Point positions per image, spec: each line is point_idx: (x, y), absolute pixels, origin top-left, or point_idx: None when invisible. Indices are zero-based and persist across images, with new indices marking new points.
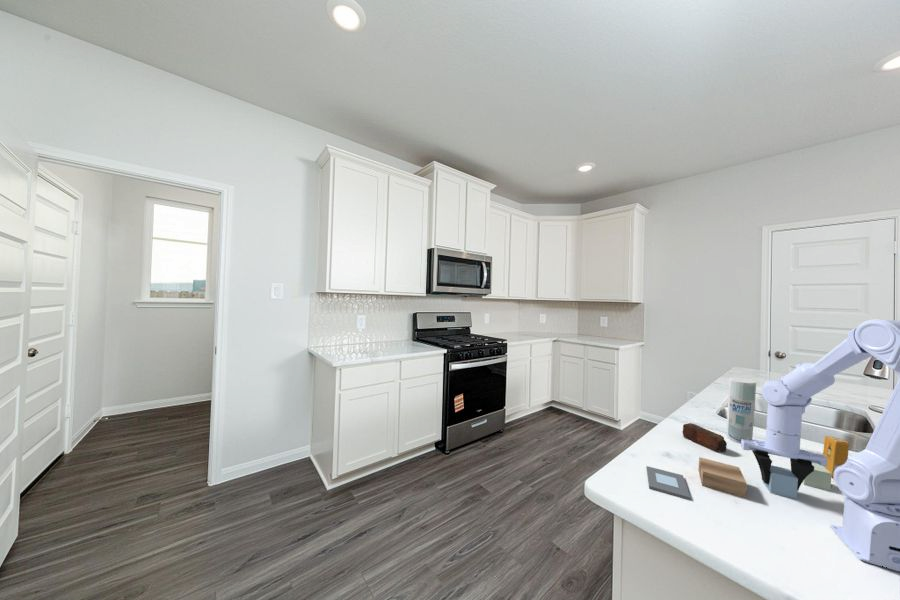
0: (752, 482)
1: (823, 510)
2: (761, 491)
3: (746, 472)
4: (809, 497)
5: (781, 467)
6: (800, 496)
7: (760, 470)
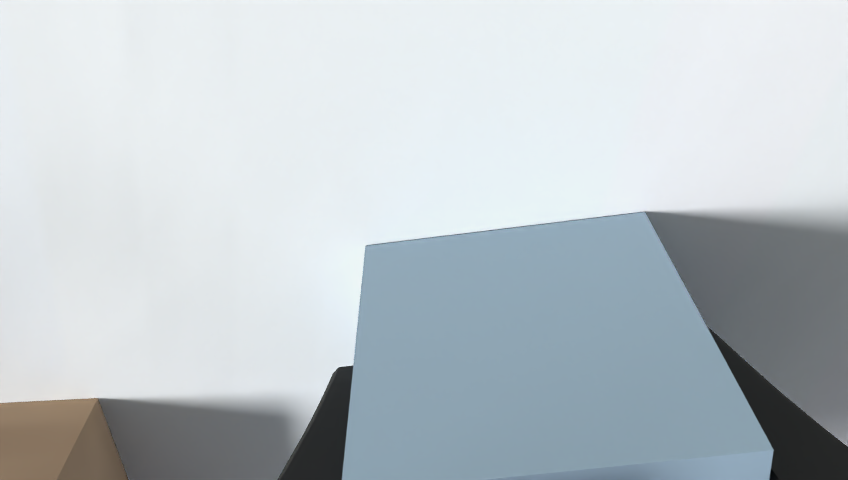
0: (244, 321)
1: None
2: None
3: (163, 22)
4: (826, 284)
5: (640, 465)
6: (719, 325)
7: (295, 456)
